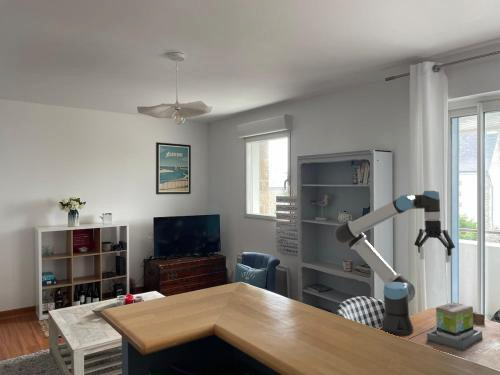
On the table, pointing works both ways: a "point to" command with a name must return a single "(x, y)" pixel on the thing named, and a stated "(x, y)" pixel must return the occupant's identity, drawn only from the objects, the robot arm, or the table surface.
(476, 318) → the walnut holder
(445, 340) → the charcoal tray
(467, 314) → the tea box
